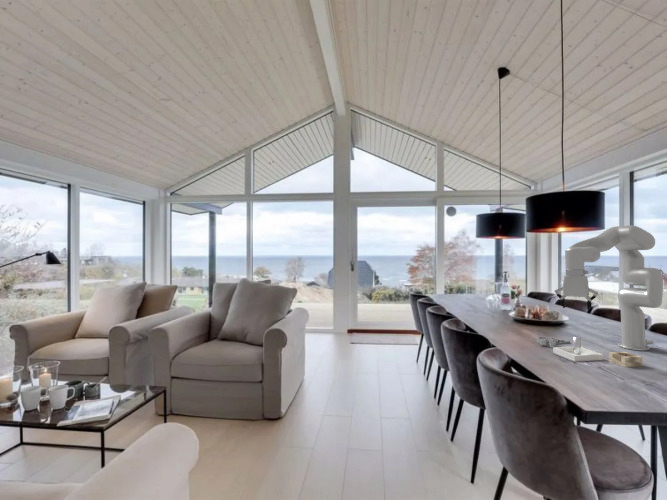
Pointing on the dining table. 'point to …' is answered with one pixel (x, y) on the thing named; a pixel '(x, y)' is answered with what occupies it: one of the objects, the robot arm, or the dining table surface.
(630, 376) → the dining table surface
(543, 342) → the pulley system
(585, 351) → the tray
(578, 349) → the pin
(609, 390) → the dining table surface
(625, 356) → the tan hollow square block
